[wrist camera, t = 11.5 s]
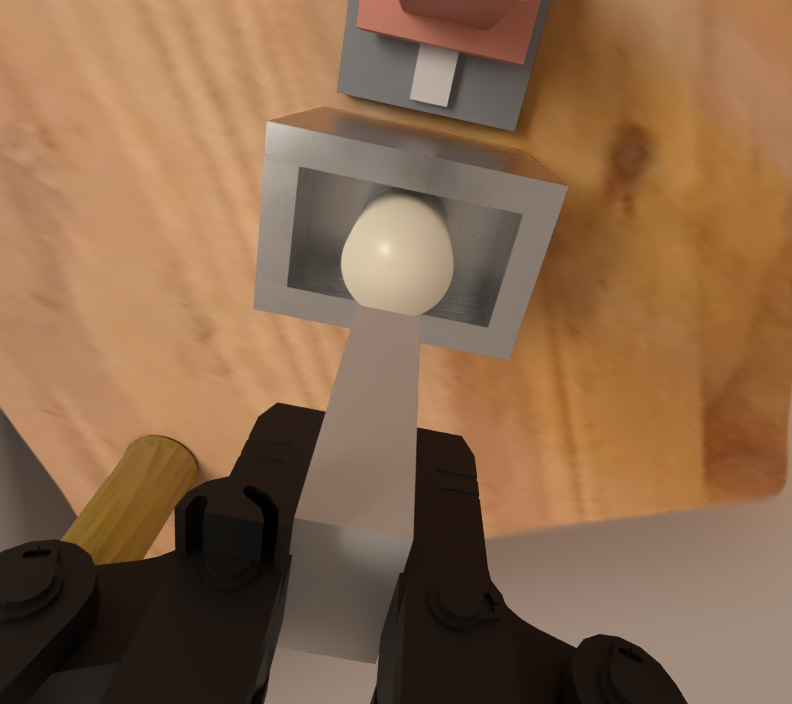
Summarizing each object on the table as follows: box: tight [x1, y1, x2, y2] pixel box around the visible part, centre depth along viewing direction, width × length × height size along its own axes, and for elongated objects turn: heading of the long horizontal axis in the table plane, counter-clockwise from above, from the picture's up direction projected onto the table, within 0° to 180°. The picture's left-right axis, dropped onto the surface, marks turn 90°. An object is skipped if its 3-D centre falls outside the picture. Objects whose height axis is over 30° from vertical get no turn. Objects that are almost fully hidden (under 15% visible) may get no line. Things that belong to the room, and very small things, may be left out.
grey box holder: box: [254, 107, 569, 360], centre depth 27 cm, size 8×13×12 cm, turn 79°
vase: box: [60, 436, 197, 565], centre depth 38 cm, size 6×6×14 cm
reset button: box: [341, 187, 454, 316], centre depth 22 cm, size 4×4×5 cm
